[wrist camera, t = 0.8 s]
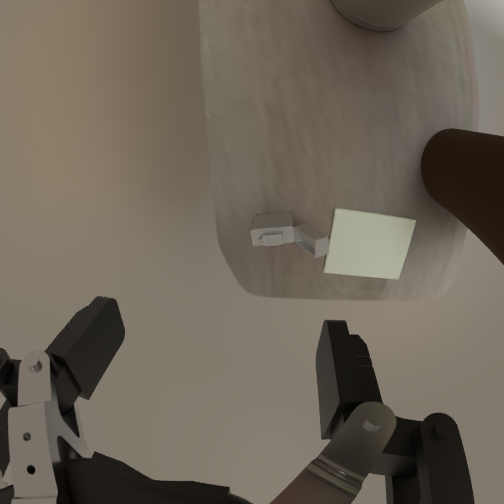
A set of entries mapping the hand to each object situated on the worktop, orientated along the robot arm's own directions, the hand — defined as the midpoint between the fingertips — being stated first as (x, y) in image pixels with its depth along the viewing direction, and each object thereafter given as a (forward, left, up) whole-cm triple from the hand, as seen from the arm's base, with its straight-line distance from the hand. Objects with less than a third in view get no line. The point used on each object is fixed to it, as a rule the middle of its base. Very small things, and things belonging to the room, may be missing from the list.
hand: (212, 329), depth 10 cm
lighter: (+4, +3, -22) cm, 23 cm away
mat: (+6, +13, -22) cm, 26 cm away
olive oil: (-5, +22, -22) cm, 32 cm away
